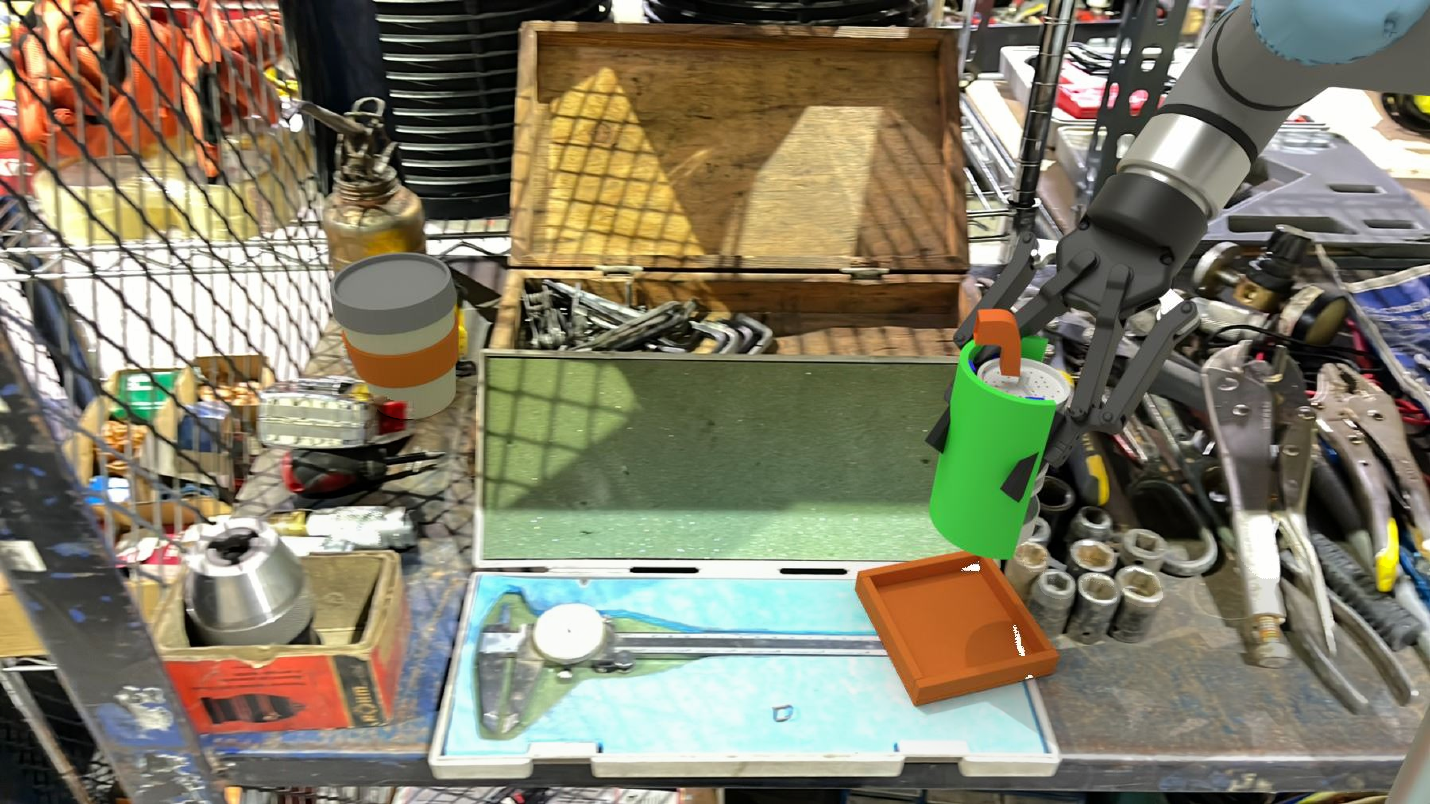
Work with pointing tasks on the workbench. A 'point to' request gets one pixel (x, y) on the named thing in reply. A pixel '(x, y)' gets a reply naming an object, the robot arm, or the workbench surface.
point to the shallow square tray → (953, 626)
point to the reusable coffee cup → (400, 327)
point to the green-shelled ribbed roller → (995, 439)
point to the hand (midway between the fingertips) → (971, 470)
